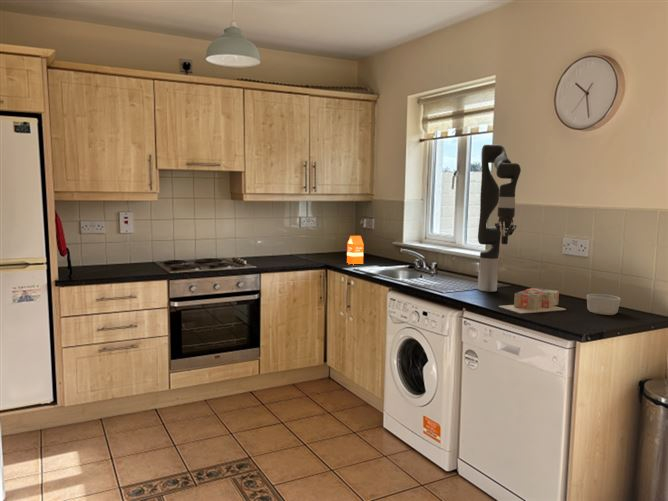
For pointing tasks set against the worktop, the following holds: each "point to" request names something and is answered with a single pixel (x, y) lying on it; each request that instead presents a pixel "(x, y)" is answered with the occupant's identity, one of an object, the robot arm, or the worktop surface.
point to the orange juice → (355, 250)
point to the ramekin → (603, 304)
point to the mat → (523, 310)
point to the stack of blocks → (536, 298)
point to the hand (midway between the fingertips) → (504, 244)
